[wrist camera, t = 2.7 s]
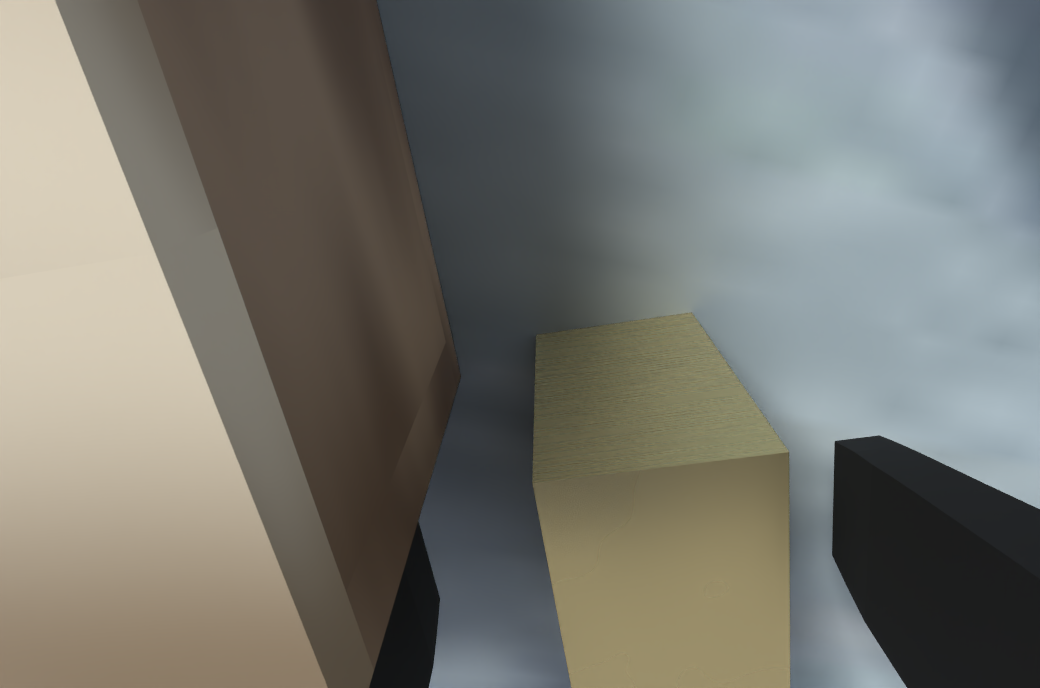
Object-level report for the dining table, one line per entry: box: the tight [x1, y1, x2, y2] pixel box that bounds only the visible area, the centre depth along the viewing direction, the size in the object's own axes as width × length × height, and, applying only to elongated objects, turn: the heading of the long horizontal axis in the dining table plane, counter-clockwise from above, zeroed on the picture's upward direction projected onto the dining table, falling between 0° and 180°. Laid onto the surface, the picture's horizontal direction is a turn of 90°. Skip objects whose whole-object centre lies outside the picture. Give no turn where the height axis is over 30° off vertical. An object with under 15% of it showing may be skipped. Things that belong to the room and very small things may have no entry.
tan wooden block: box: [532, 312, 790, 688], centre depth 8 cm, size 5×2×4 cm, turn 9°
